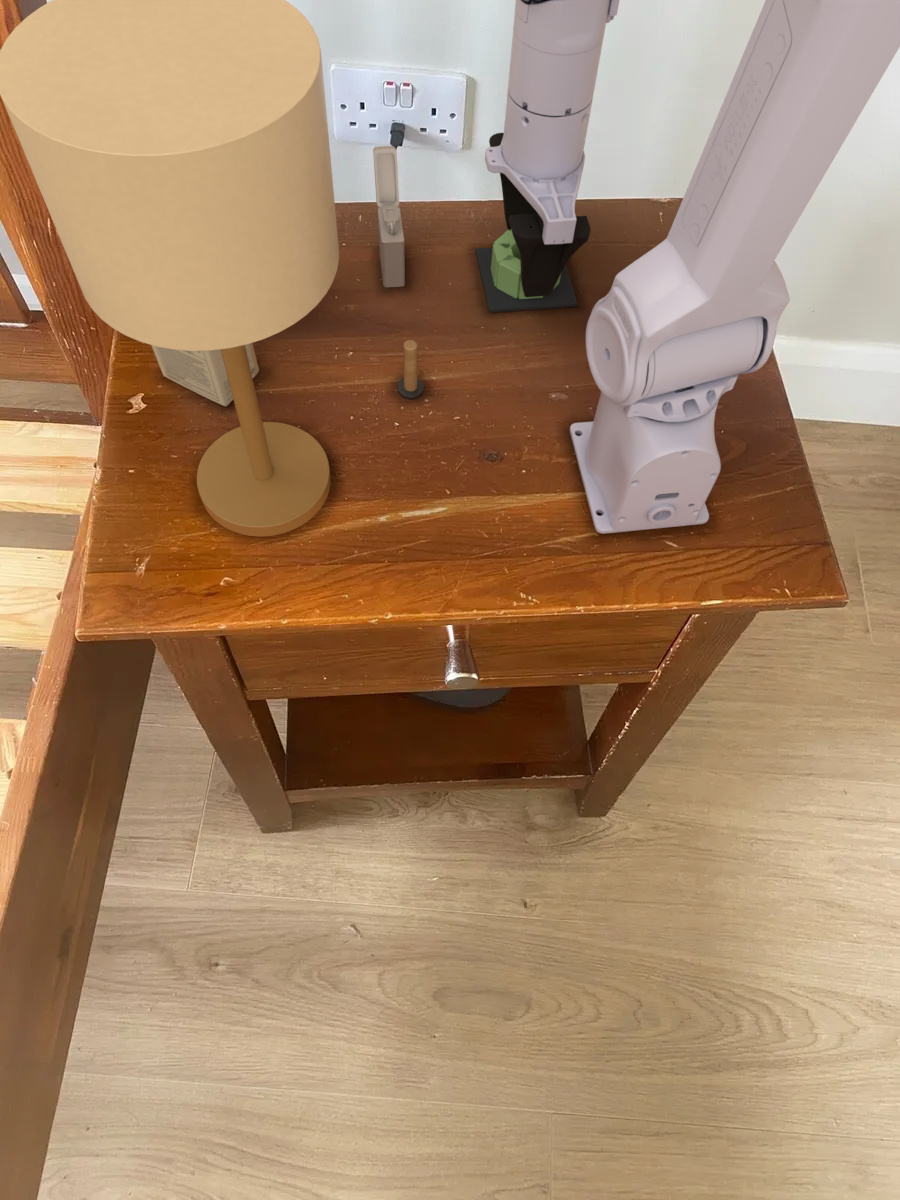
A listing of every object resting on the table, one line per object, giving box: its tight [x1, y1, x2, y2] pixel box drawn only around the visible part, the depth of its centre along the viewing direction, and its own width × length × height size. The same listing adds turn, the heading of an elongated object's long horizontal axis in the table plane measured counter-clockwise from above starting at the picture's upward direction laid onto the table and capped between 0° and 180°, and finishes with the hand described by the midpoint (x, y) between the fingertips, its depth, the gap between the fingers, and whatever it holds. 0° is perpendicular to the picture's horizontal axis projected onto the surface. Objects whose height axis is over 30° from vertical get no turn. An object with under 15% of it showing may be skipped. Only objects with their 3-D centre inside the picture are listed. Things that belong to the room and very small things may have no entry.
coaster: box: [474, 247, 578, 314], centre depth 72 cm, size 7×7×1 cm
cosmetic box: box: [151, 342, 260, 407], centre depth 61 cm, size 6×4×12 cm
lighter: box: [372, 145, 406, 288], centre depth 70 cm, size 7×2×8 cm, turn 7°
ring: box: [491, 229, 561, 299], centre depth 71 cm, size 5×5×2 cm
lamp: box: [0, 0, 340, 538], centre depth 49 cm, size 13×13×29 cm
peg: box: [396, 339, 425, 400], centre depth 64 cm, size 2×2×4 cm
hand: (527, 259), depth 71 cm, fingers open, 7 cm apart
